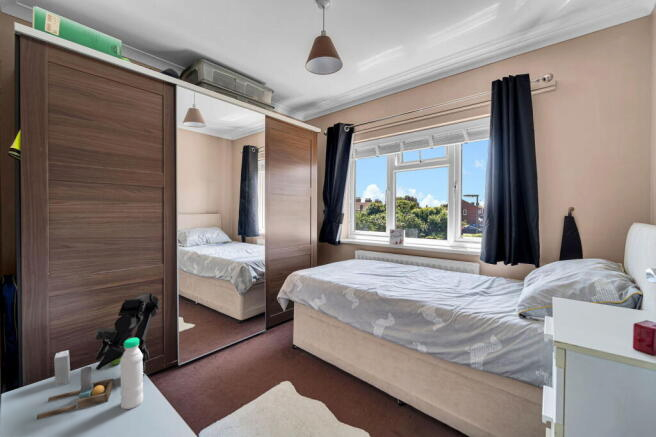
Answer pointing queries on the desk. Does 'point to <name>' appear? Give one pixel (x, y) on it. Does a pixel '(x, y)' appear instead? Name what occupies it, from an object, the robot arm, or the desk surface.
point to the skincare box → (62, 368)
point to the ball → (97, 390)
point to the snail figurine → (116, 360)
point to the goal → (81, 402)
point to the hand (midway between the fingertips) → (96, 364)
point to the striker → (86, 383)
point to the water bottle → (131, 374)
